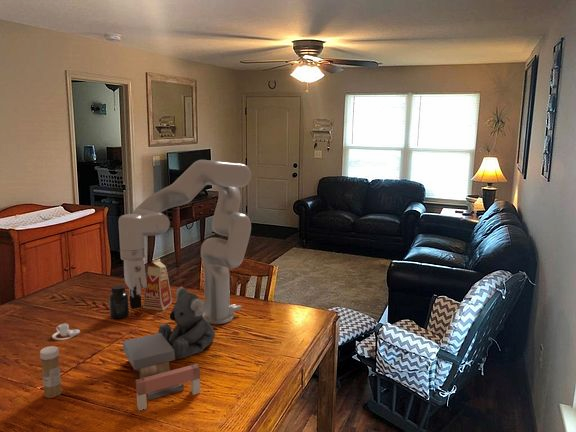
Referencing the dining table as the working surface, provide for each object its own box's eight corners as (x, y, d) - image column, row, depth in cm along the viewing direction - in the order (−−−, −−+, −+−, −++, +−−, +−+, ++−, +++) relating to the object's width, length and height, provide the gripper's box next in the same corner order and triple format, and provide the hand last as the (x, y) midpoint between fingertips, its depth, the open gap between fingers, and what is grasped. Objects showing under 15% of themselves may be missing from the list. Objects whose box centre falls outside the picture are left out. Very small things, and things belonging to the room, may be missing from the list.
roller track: (157, 352, 159) (156, 340, 158) (183, 389, 138) (183, 376, 137) (126, 360, 154) (125, 348, 153) (148, 400, 132) (147, 386, 132)
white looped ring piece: (83, 334, 172) (82, 323, 172) (65, 343, 165) (64, 332, 164) (65, 329, 176) (65, 318, 175) (47, 338, 169) (46, 327, 168)
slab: (160, 341, 158) (160, 332, 157) (174, 359, 146) (174, 350, 145) (123, 350, 151) (122, 341, 151) (134, 370, 140) (133, 360, 139)
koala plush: (154, 342, 166) (152, 288, 162) (202, 329, 176) (200, 278, 172) (175, 363, 152) (173, 305, 148) (225, 348, 163) (224, 293, 159)
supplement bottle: (110, 314, 189) (108, 284, 186) (129, 312, 191) (127, 283, 188) (110, 321, 182) (108, 290, 180) (129, 318, 185) (127, 289, 182)
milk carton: (163, 310, 193) (161, 262, 189) (142, 308, 195) (139, 260, 191) (173, 302, 202) (171, 255, 198) (152, 300, 203) (150, 254, 199)
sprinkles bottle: (41, 394, 135) (36, 349, 132) (57, 387, 138) (53, 343, 135) (48, 400, 132) (44, 355, 129) (65, 393, 135) (61, 349, 132)
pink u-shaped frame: (197, 389, 138) (196, 363, 136) (200, 392, 136) (199, 366, 135) (137, 407, 129) (135, 379, 128) (139, 411, 128) (137, 383, 126)
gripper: (151, 257, 149) (153, 313, 153) (138, 246, 162) (141, 298, 165) (126, 260, 145) (129, 318, 149) (115, 249, 158) (118, 302, 162)
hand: (135, 307), depth 157 cm, fingers closed
